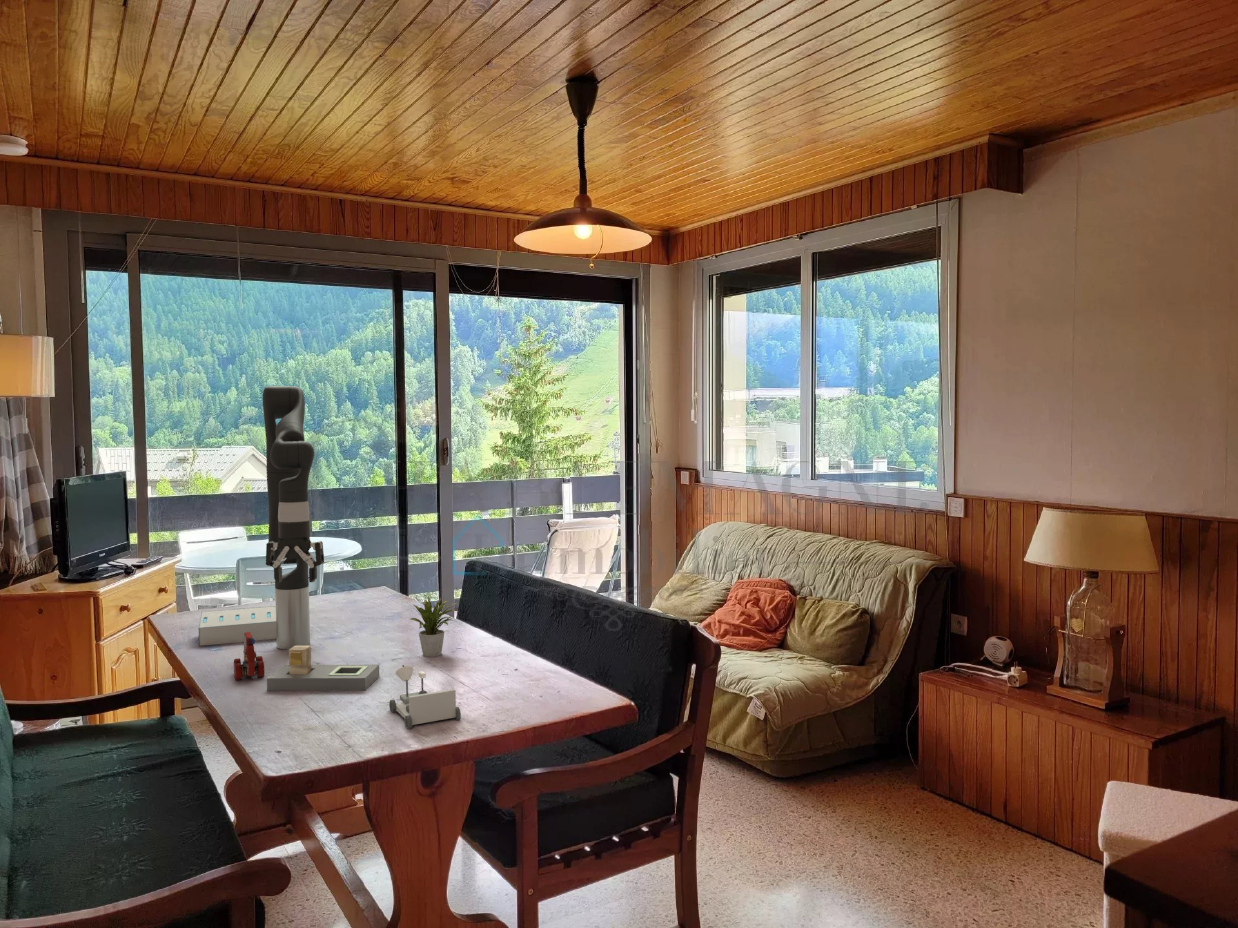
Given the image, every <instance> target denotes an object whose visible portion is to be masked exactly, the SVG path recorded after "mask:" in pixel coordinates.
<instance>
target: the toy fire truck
mask: <svg viewBox="0 0 1238 928" xmlns="http://www.w3.org/2000/svg"><path fill="white" fill-rule="evenodd" d="M255 643H256V641H255V640H254V638H253V637H252V635H251V632H245V633H244V642H243V651H242V652H243V661H241V658H234V659H233V672H234V673H233V674H234V680H235V681H238V680H239V681H240V680H242V679H243V677H246V676H247V677H254V676H255V673H256V674H257V678H263V677H265V662H264V658H263V656H262V655H258V656H257V652H256V651H255V645H254V644H255Z"/></svg>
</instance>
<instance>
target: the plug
mask: <svg viewBox="0 0 1238 928" xmlns="http://www.w3.org/2000/svg"><path fill="white" fill-rule="evenodd" d="M288 665H289V674H309V673H310V672H311V665H312V645H309V646H294V647H292V648H291V649H288Z"/></svg>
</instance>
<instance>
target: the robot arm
mask: <svg viewBox="0 0 1238 928" xmlns="http://www.w3.org/2000/svg"><path fill="white" fill-rule="evenodd" d="M303 391H304V390H303V389H302V388H301V387H300V386H294V385H269V386H265V387H264V389H263V391H262V411H263V419H264V423H263V424H264V431H265V441H266V442H265V444H266V446H265V447H266V450H265V451H266V486H267V487H266V488H267V499H268V501H267V502H268V541H267V543H266V548H265V565H266V566H267V567H268V566H269V567H272V568H273V579H274V596H275V600H274V601H275V606H276V639H275V640H276V648H277V649H281V650H289V649H291V648H292V647H294V646H311V616H310V587H309V586H310V585H309V584H310V583H314V582H315V581H316V580H317V578H318V566H321V565H323V564H324V563H325V555H324V544H323V541H322V540H319V541H313V542H312V541H311V538H310V537H311V529H310V527H311V525H310V524H311V523H310V521H311V520H310V506H309V491H308V490H309V489H308V487H309V477H310V473H311V469H312V465H313V462H314V458H315V449H314V447H313V445H312V444H311V443H310V442H308V441H305V433H304V422H305V411H306V409H305V408H306V404H305V403H306V401H305V394H304V392H303ZM279 419H280V420H279ZM276 420H279V421H278V423H277V421H276ZM311 548H312V549H313V551H315V558H314V556H313V554H312V553H311V552H310V549H311ZM295 564H296V567H295V568H294V569H292V570H291V571H289V572H288V573H285V574H283V567H282V565H295Z"/></svg>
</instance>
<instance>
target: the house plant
mask: <svg viewBox="0 0 1238 928" xmlns="http://www.w3.org/2000/svg"><path fill="white" fill-rule="evenodd" d="M441 600H442V597H439V599H438V600H437V602H436V603H435V605H434V606H432V602H431V600H430V597H429V595H428V596H427V599H424V601H423V603H421V602H419V603H418V604H420V605H421V604H422V605H423V606H424V608H423V607H419V606H417V605H415V604H413V603H412V605H413V606H414V607H415V608H414V610H415V611H416V612H417V613H419V615H420V617H421V618H422V620H423V622H422V621H421V620H420V619H418V618H417V617H411V618H408V619H409V620H411V621H413V622H418V623H419V626H418V627H419V628H418V629H419V630H420V629H421V628H424V630H421V631H419V632H418V636H419V643H420V646H421V653H422V656H423V657H428V658H429V657H430V658H431V657H438V656H441V655H442V652H443V645H444V637H445V632H446V631H445V630H443V629H440V628H441V626H442V625H443V624H446V626H449V623H448V622H450V621H454V619H453V618H452V617H453V615H451V616H443V615H445V614H448V613H451V612H454V611H458V609H459V608H458V609H450V608H451V606H452V605H457V604H458V602H457V603H456V602H455V603H452V604H449V605H446V606H445V604H446V602H447V601H448V599H446V600H444V601H443V602H442V603H440V602H441ZM432 607H433V609H432ZM442 616H443V617H442Z"/></svg>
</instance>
